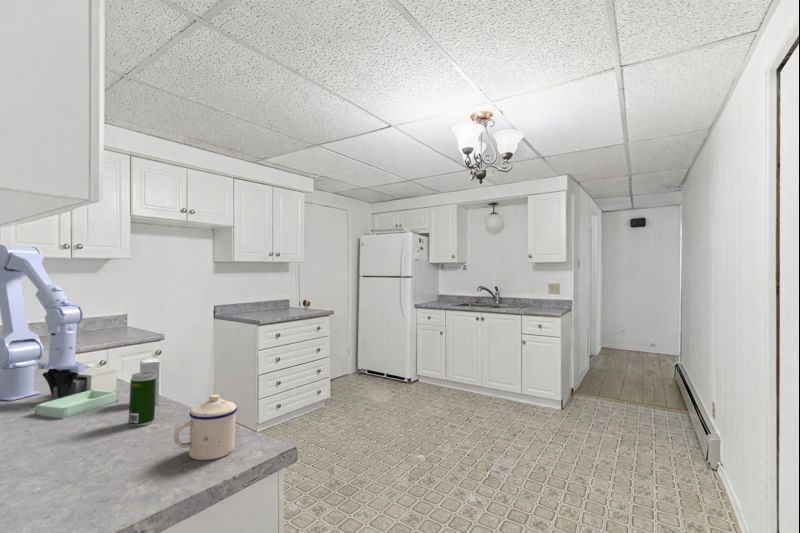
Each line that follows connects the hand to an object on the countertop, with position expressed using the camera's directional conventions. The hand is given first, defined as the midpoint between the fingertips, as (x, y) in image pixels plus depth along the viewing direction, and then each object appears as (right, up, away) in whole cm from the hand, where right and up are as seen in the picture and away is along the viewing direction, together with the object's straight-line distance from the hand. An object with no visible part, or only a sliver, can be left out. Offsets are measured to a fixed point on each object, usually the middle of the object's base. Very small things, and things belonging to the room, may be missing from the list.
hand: (59, 396), depth 111 cm
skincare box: (+25, -2, +1) cm, 25 cm away
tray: (+9, -2, -5) cm, 10 cm away
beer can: (+33, -2, -14) cm, 36 cm away
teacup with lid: (+56, -2, -30) cm, 63 cm away
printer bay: (+2, -2, +9) cm, 9 cm away
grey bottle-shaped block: (+1, -2, +4) cm, 4 cm away
